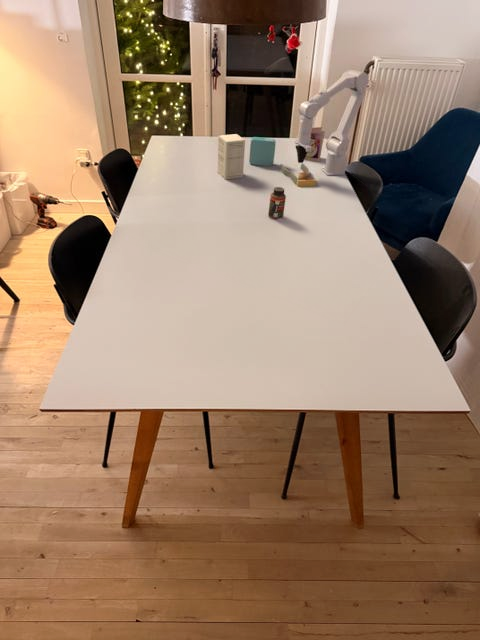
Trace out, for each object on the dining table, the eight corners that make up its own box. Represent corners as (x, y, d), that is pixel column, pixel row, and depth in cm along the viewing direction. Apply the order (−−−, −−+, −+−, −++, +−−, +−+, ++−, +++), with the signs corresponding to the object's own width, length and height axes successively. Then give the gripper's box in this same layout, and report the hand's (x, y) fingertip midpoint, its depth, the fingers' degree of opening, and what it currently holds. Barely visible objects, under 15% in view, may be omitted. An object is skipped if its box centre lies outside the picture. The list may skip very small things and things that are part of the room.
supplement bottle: (278, 221, 169) (282, 193, 162) (265, 216, 171) (268, 189, 164) (285, 216, 173) (289, 188, 166) (272, 211, 175) (275, 184, 168)
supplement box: (235, 170, 208) (237, 133, 197) (243, 177, 201) (246, 139, 191) (216, 172, 204) (217, 135, 194) (224, 179, 198) (226, 141, 187)
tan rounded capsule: (306, 180, 203) (308, 172, 201) (310, 185, 200) (311, 176, 197) (296, 180, 202) (297, 172, 200) (299, 185, 199) (300, 176, 196)
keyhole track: (279, 169, 212) (280, 164, 211) (302, 168, 215) (303, 163, 214) (294, 186, 197) (294, 181, 195) (318, 185, 200) (319, 180, 198)
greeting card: (297, 159, 226) (301, 128, 216) (299, 154, 231) (303, 124, 222) (319, 162, 224) (324, 131, 215) (320, 157, 230) (325, 127, 220)
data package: (273, 163, 218) (275, 138, 211) (273, 166, 215) (275, 141, 207) (249, 161, 219) (251, 136, 211) (248, 164, 215) (250, 139, 208)
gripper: (291, 127, 198) (287, 157, 207) (302, 137, 187) (297, 168, 196) (305, 126, 200) (301, 156, 208) (317, 136, 189) (312, 167, 198)
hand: (300, 162), depth 202 cm, fingers closed
